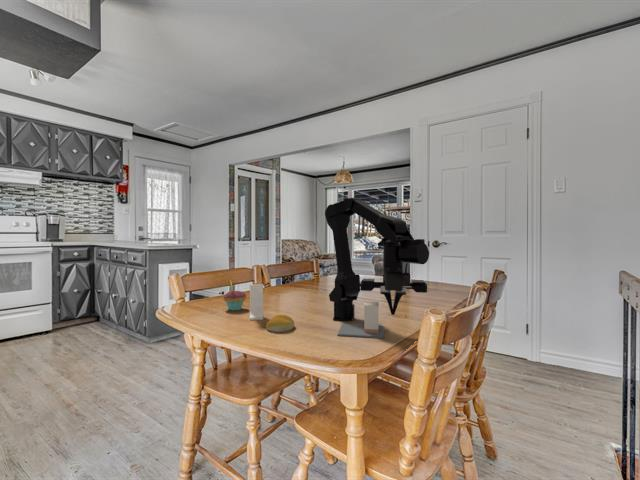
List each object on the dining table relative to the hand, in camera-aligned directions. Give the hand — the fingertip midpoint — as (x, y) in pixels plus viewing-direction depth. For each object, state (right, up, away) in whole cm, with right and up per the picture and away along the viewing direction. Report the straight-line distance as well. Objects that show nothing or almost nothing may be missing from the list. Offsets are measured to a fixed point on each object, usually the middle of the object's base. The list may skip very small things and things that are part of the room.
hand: (392, 314), depth 99 cm
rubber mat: (-9, -5, +2) cm, 11 cm away
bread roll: (-34, -6, +6) cm, 35 cm away
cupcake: (-54, -5, +32) cm, 63 cm away
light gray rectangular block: (-44, -5, +18) cm, 48 cm away
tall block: (-6, -5, +1) cm, 8 cm away
